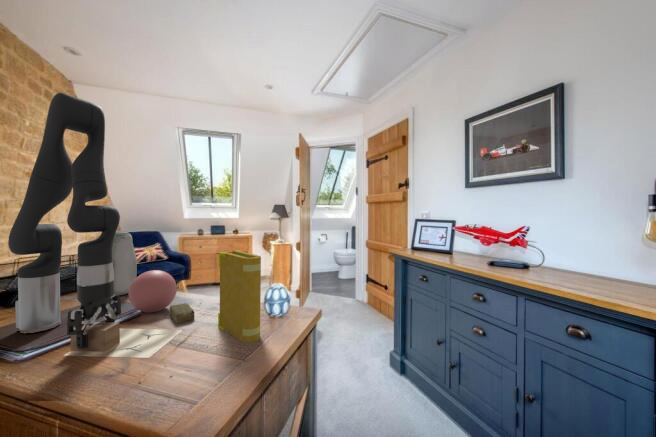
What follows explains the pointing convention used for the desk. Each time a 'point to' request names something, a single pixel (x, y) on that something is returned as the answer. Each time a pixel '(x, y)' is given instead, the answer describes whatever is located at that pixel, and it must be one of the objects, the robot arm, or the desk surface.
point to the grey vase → (123, 262)
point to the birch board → (136, 343)
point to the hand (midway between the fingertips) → (97, 340)
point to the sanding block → (99, 338)
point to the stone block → (181, 313)
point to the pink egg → (152, 291)
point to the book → (240, 294)
